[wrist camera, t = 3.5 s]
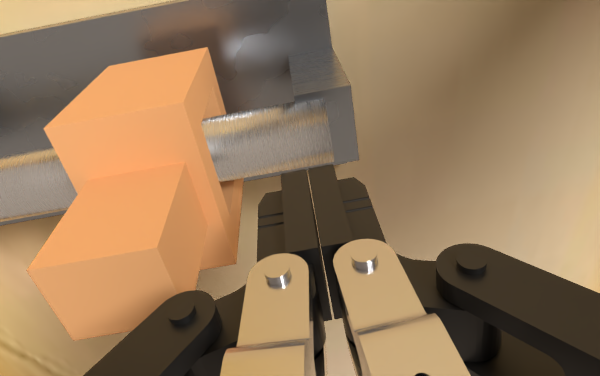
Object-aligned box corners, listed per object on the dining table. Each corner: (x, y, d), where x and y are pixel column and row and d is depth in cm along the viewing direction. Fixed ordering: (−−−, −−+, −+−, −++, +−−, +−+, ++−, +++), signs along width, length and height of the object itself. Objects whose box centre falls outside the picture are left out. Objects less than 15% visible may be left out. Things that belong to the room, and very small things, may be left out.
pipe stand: (320, -29, 19) (346, 0, 13) (344, 155, 24) (372, 242, 17) (-253, 84, 20) (-491, 162, 14) (-119, 239, 25) (-250, 350, 18)
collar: (207, 46, 17) (150, 174, 9) (243, 176, 20) (227, 362, 12) (108, 66, 17) (-41, 209, 9) (159, 192, 21) (84, 386, 12)
